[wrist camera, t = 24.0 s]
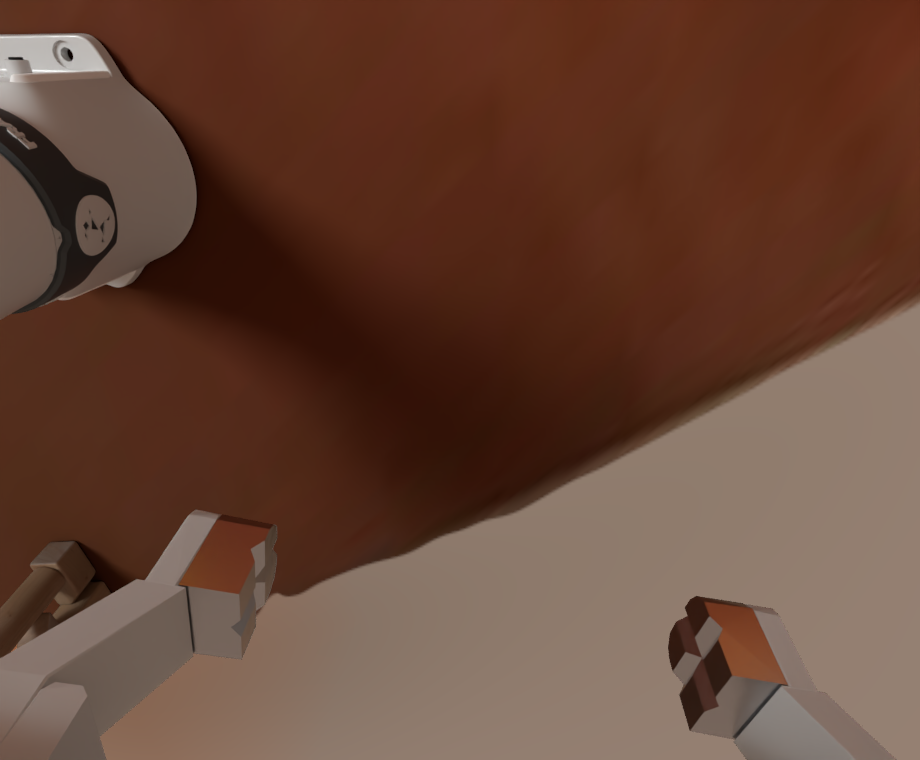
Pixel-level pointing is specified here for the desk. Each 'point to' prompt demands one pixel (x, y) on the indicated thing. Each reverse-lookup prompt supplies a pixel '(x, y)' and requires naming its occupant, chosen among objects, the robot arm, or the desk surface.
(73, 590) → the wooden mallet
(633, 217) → the desk surface
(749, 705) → the robot arm
